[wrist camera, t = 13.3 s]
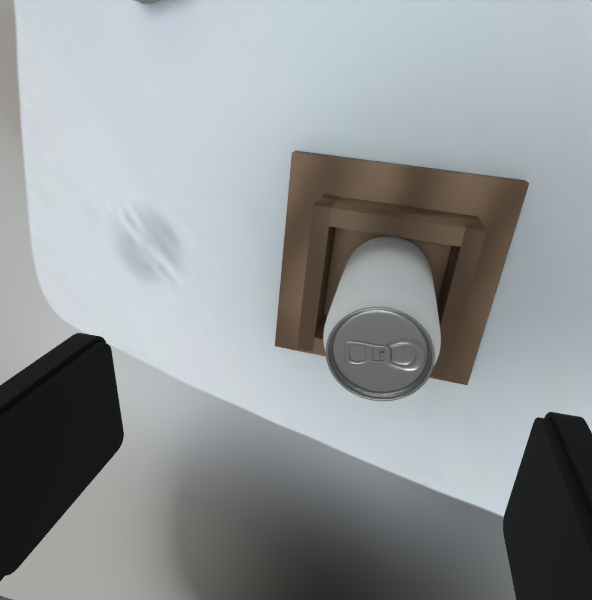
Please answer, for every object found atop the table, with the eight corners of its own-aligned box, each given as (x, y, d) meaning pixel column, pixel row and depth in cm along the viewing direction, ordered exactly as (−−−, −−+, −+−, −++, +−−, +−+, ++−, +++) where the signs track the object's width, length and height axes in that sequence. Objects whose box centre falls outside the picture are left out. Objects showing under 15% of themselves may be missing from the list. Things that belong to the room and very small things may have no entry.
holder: (524, 180, 31) (545, 194, 26) (465, 376, 38) (473, 415, 33) (295, 150, 34) (277, 159, 29) (278, 339, 40) (261, 370, 36)
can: (430, 315, 35) (441, 412, 24) (346, 314, 37) (321, 404, 26) (433, 233, 33) (446, 300, 22) (342, 235, 34) (313, 298, 23)
